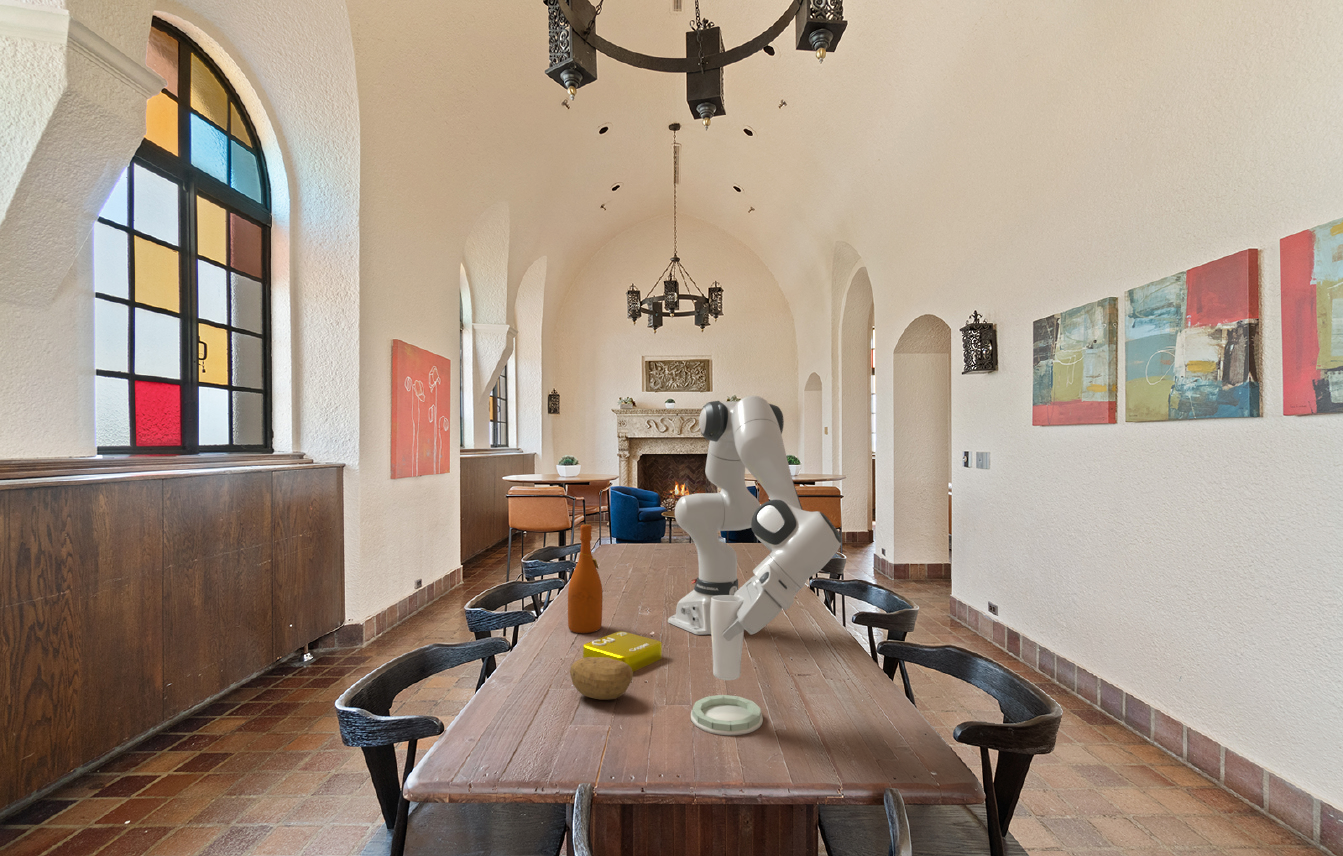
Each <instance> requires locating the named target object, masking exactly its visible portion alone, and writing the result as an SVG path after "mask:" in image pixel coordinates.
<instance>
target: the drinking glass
mask: <svg viewBox="0 0 1343 856" xmlns="http://www.w3.org/2000/svg"><path fill="white" fill-rule="evenodd" d="M740 599H743V598H742V597H739V596H733V595H717V596H713V597H711V608H710V621H711V634H710V635H711V651H712V652H711V653H712V674H713V676H714V677H715V678H716V679H719V680H722V681H733V680H737V679H739V678H740V677H741V671H742V670H741V669H742V667H741V665H742V664H741V663H742V654H743V653H742V652H743V644H744V633H745V630H744V631H743V632H741V633H739V634H738V635H736V636H734V637H733V638H732V639H731V640H730V641H727V640H726V639H725V638H724V637H723V631H724V630H725V629H726V628H728V627H730V626H731V625H732V624H733V623H734V622H735V620H736V619H737V618H738V616H737V610H738V608H739V607H740V606H741V604H742V603H743V601H744V599H743V600H741V601H738V600H740Z"/></svg>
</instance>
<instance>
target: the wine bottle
mask: <svg viewBox="0 0 1343 856" xmlns="http://www.w3.org/2000/svg"><path fill="white" fill-rule="evenodd" d="M579 529H580V530H579V531H580V537H579V540H580V541H581V543H580V551H579V555H578V561H577V563H576V565H575V569H574V570H573V572H572V575H571V578H570V580H569V583H568V590H567V591H568V592H567V626H568V629H569V631H571V632H572V633H577V634H590V633H594V632H597V631H599V630H600V629H601V628H602V623H603V595H604V594H603V585H602V579H601V578H600V574H599V572H598V569H599V566H598V562H597V559H595V558H594V557H593V553H592V547H591V541H592V529H593V527H592V525H591V524H588V523H584V524H581V525H580V527H579Z"/></svg>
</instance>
